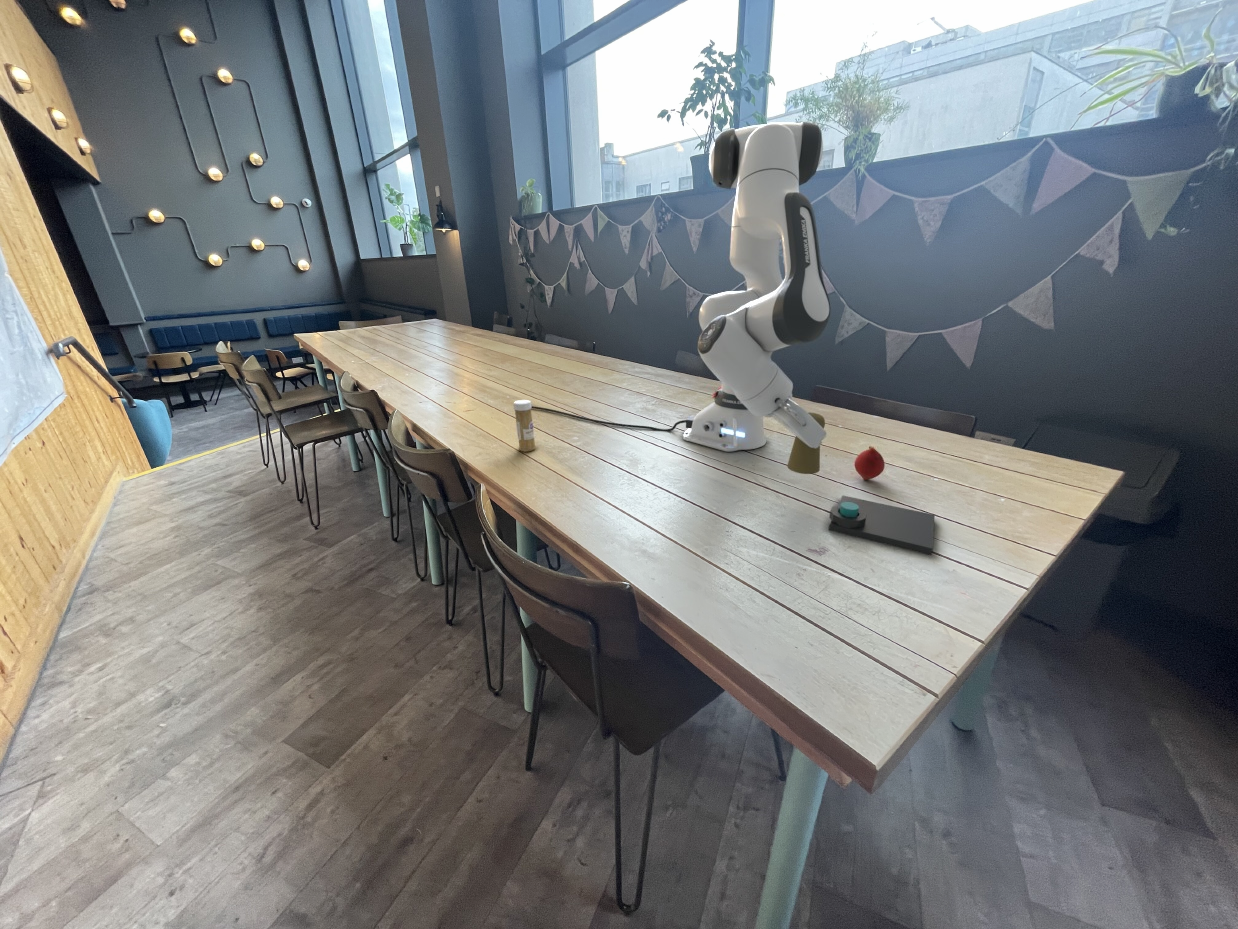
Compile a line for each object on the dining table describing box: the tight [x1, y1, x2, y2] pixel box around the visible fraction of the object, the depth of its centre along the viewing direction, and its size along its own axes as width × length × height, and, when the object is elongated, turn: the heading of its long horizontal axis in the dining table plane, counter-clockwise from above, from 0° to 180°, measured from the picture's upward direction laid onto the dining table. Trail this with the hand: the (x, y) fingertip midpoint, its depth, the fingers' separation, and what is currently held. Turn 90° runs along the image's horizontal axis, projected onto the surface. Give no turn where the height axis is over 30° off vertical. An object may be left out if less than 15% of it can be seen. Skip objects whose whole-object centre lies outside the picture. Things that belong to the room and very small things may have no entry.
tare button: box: [839, 502, 859, 517], centre depth 86 cm, size 3×3×2 cm
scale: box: [828, 495, 936, 556], centre depth 87 cm, size 16×13×3 cm
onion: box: [853, 445, 885, 481], centre depth 103 cm, size 6×6×8 cm
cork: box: [786, 412, 826, 475], centre depth 90 cm, size 6×6×11 cm
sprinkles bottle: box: [513, 399, 536, 453], centre depth 126 cm, size 5×5×14 cm
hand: (810, 439), depth 90 cm, fingers closed on cork, 4 cm apart
